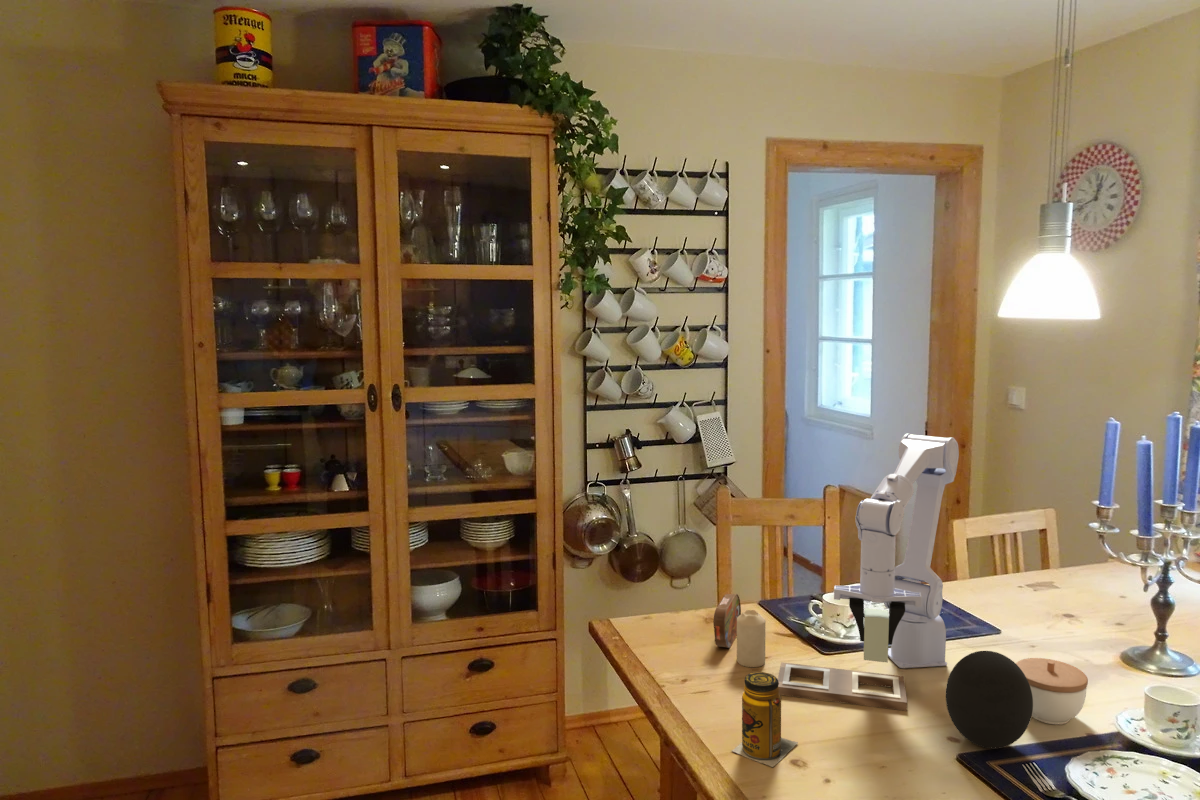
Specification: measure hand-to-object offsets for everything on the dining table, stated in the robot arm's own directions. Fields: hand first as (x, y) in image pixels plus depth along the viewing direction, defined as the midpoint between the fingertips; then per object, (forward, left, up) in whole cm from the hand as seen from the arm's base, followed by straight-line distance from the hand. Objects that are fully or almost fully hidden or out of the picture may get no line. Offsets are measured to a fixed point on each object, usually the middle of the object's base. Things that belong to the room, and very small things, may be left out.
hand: (875, 640), depth 143 cm
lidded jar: (-26, +11, -10) cm, 30 cm away
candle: (+18, -15, -10) cm, 26 cm away
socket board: (+5, -2, -10) cm, 12 cm away
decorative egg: (-11, +18, -10) cm, 23 cm away
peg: (0, 0, -3) cm, 3 cm away
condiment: (+24, +15, -10) cm, 30 cm away
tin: (+20, -26, -10) cm, 35 cm away
